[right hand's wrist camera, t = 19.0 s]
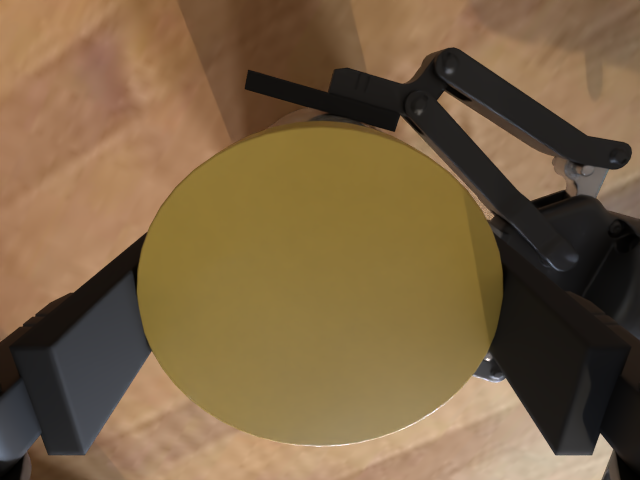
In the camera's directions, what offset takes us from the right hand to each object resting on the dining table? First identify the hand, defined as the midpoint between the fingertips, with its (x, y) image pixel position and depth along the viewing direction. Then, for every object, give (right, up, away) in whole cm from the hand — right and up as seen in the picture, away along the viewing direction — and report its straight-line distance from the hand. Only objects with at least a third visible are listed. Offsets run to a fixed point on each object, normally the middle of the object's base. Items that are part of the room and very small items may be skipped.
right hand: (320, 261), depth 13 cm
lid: (0, -1, -3) cm, 3 cm away
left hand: (-4, +3, +5) cm, 8 cm away
